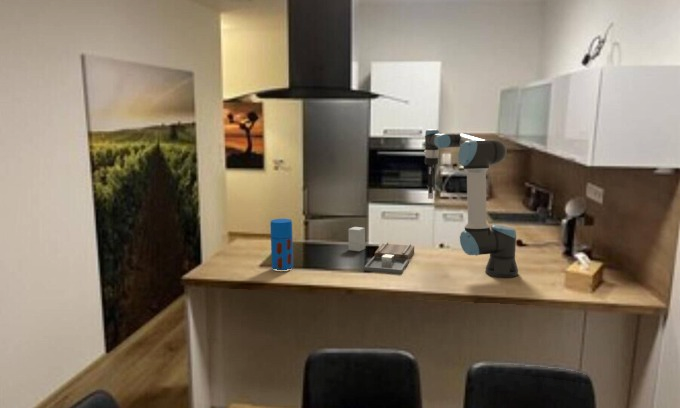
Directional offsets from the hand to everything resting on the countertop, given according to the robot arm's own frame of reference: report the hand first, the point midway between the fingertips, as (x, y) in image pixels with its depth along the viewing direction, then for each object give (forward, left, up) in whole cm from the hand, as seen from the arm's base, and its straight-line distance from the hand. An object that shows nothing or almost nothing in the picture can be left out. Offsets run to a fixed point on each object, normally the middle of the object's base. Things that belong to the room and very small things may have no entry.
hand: (430, 198), depth 287 cm
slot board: (+16, +22, -29) cm, 40 cm away
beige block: (+16, +41, -26) cm, 51 cm away
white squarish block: (+16, +38, -29) cm, 50 cm away
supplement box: (+40, +14, -30) cm, 52 cm away
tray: (+16, +43, -29) cm, 54 cm away
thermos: (+66, +61, -30) cm, 95 cm away
